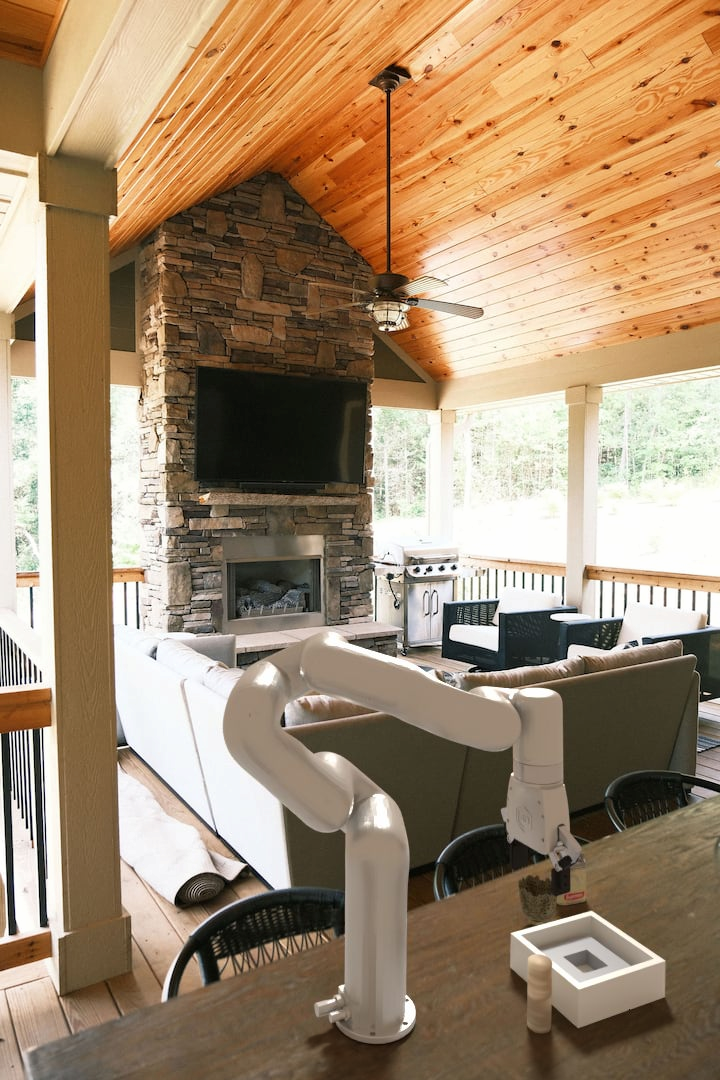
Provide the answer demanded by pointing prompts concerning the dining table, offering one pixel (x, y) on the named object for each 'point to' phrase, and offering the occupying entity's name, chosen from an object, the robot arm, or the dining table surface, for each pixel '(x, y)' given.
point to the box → (591, 967)
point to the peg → (539, 993)
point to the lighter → (575, 883)
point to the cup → (536, 899)
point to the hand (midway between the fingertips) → (539, 879)
